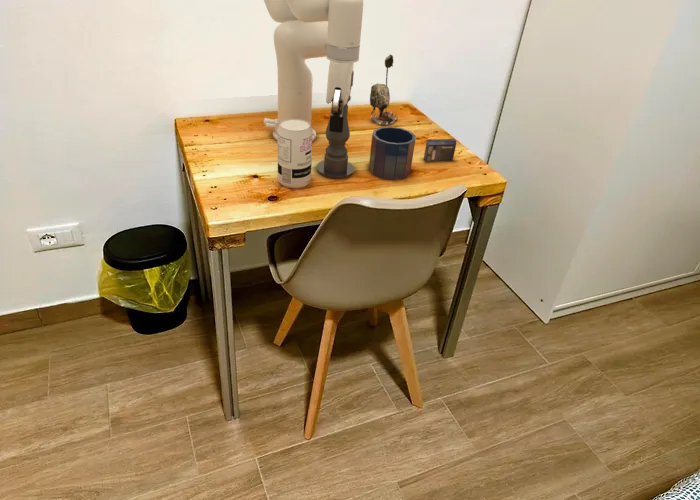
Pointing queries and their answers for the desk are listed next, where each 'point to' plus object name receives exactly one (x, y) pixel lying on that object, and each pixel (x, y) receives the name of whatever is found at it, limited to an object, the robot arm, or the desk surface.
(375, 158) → the crock
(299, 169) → the supplement can
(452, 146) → the mini dv tape
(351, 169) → the coaster
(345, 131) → the candle holder
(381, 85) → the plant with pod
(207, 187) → the desk surface
